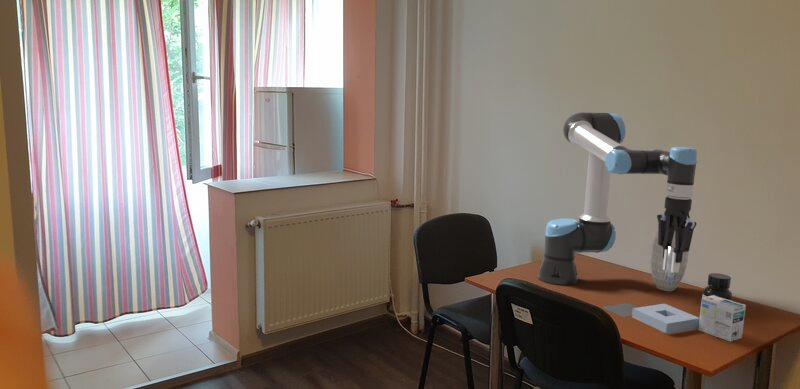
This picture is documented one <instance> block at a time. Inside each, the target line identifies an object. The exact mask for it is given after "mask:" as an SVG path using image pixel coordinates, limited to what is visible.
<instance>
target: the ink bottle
mask: <svg viewBox="0 0 800 389" xmlns="http://www.w3.org/2000/svg"><path fill="white" fill-rule="evenodd" d="M731 280H732V277H731V276H730V275H728V274H724V273H717V272H710V273H708V278H707V286H706V287H704V288H703V291H702V297H701V299H702V298H703V297H708V296H712V295H715V296H717V297H720V298H724V299H727V300H731V301H733V293H732V291H731V290H730V288H731V287H730V286H731Z"/></svg>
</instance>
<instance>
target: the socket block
mask: <svg viewBox="0 0 800 389" xmlns="http://www.w3.org/2000/svg"><path fill="white" fill-rule="evenodd" d="M631 318H633V319H635V320H637V321H639V322H641V323H643V324H646V325H648V326H649V327H652V328H654V329H657V330H658V331H660V332H662V333H663V334H664V335H670V334H671V335H672V334H676V333H682V332H688V331H694V330H698V326H699V317H698V316H695V315H693V314H691V313H689V312H686V311H684V310H681V309H678V308H676V307H674V306H671V305H669V304H667V303H660V304H659V303H657V304H653V305H646V306H639V307H638V308H633V311H632V316H631Z"/></svg>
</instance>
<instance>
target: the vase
mask: <svg viewBox="0 0 800 389" xmlns="http://www.w3.org/2000/svg"><path fill="white" fill-rule="evenodd" d="M652 241H653V242H652V245H651V252H650V271H651V272H650V273H651V276H652V280H653V282H654V286H656V289H658V290H660V291H663V292H674V291H675V290H676V289H677V288H678V286H680V284H681V282H682V281H683V277H684V276H685V273H686V271H687V267H688V261H689V251H688V252H683V255H682V262H681V263H680V267H679V272H676V275H675V282H668V281H665V270H663V262H664V258H663V247H662V246H661V245H658V231H657V232H656V234H655V236H654V239H653V240H652ZM662 242H663V241H662ZM672 246H675V231H674V236H673V240H672Z"/></svg>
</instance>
